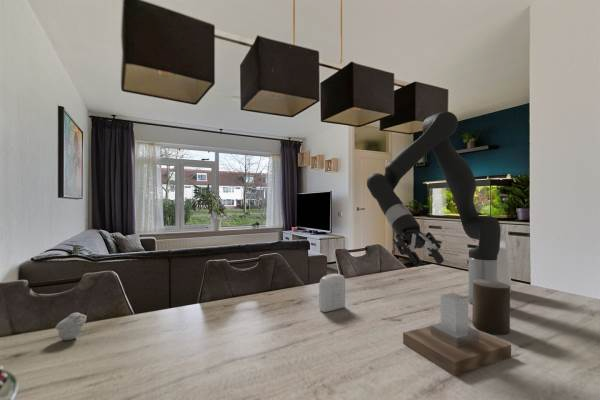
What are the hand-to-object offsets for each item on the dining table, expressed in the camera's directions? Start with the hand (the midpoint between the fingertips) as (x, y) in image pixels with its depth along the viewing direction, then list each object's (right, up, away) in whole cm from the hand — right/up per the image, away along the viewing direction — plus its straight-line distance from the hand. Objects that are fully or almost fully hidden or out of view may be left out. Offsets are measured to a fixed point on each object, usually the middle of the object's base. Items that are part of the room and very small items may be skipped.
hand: (430, 263), depth 84 cm
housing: (+3, -18, -7) cm, 20 cm away
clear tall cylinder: (+47, -21, +43) cm, 67 cm away
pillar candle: (+21, -21, +6) cm, 31 cm away
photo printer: (-26, -21, +22) cm, 40 cm away
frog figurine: (-102, -21, -2) cm, 104 cm away
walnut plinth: (+3, -21, -7) cm, 22 cm away
